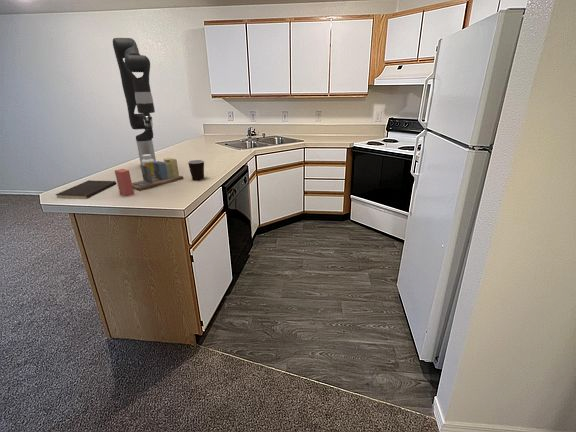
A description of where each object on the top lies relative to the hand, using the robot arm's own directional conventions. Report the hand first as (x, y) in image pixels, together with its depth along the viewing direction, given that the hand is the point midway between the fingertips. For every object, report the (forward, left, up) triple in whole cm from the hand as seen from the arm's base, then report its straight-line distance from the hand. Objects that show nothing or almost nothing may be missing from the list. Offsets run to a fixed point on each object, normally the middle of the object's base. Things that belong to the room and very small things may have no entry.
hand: (151, 137), depth 152 cm
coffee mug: (+4, +22, -26) cm, 34 cm away
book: (-3, -16, -26) cm, 31 cm away
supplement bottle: (-22, +8, -26) cm, 35 cm away
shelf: (-8, +3, -26) cm, 27 cm away
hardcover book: (-24, -25, -27) cm, 44 cm away
